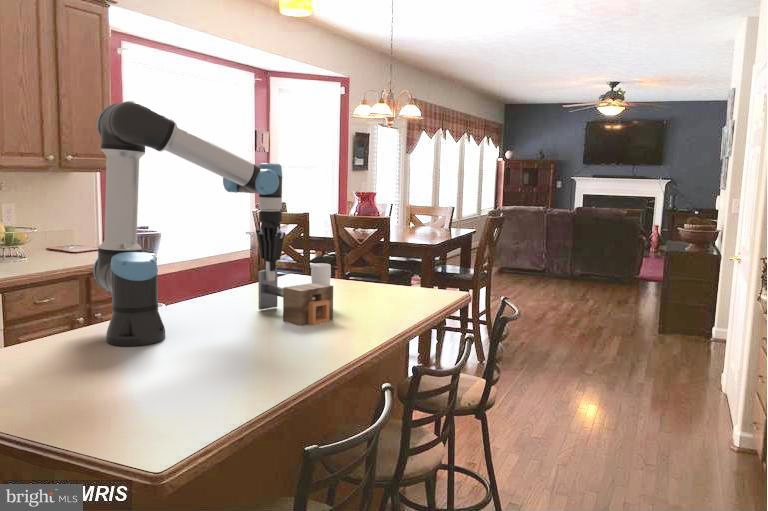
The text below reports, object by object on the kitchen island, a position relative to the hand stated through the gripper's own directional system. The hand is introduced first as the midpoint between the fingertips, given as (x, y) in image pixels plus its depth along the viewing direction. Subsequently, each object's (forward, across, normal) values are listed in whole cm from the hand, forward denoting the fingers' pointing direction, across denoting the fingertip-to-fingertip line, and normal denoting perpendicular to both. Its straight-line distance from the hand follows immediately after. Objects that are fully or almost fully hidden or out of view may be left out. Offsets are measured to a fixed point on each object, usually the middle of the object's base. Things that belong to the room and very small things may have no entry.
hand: (270, 280), depth 215 cm
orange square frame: (+7, -24, 0) cm, 25 cm away
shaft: (+10, -10, 0) cm, 14 cm away
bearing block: (+10, -20, 0) cm, 22 cm away
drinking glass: (+10, -7, -16) cm, 20 cm away
